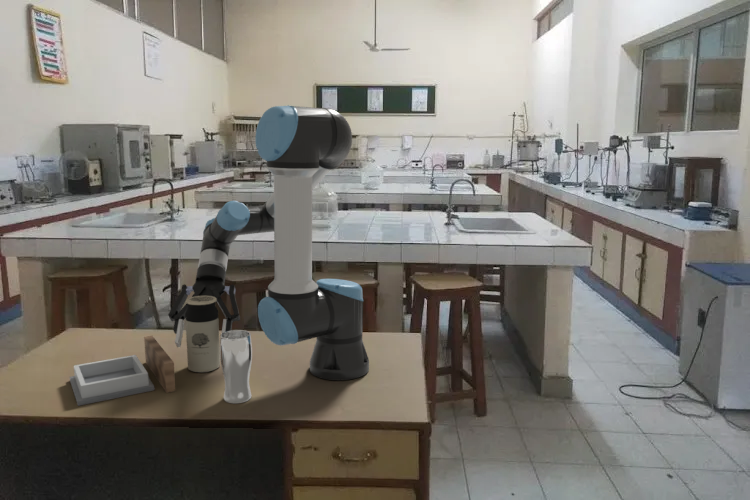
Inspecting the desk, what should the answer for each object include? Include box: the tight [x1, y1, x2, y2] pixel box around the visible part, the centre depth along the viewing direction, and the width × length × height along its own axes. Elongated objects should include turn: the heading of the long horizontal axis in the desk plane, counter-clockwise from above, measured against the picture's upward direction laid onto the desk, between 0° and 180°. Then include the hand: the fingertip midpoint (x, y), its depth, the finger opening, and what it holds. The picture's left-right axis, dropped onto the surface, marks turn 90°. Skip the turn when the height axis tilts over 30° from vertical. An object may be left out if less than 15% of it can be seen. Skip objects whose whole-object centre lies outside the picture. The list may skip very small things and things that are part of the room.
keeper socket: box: [69, 354, 155, 407], centre depth 139 cm, size 16×16×4 cm
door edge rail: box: [143, 335, 176, 394], centre depth 144 cm, size 22×2×7 cm, turn 33°
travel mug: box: [185, 296, 221, 373], centre depth 149 cm, size 8×8×18 cm
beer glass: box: [219, 329, 253, 405], centre depth 132 cm, size 7×7×15 cm
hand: (200, 344), depth 147 cm, fingers open, 10 cm apart
